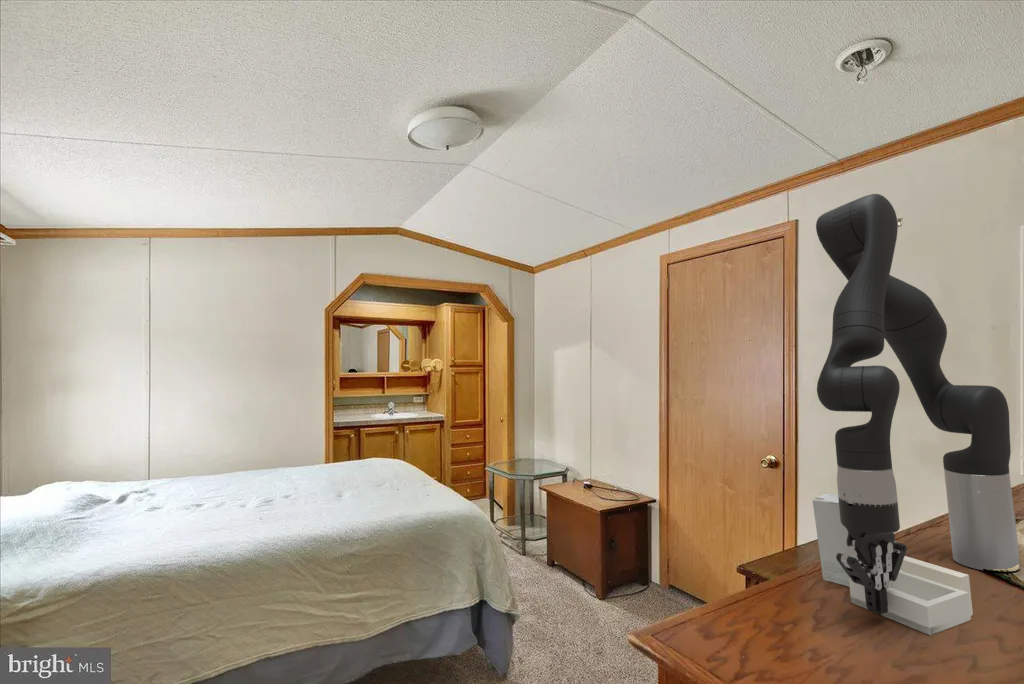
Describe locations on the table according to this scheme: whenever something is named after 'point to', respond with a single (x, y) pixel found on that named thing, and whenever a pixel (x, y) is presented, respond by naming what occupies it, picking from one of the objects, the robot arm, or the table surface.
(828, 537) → the skincare box
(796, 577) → the table surface
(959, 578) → the wall
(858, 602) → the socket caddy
